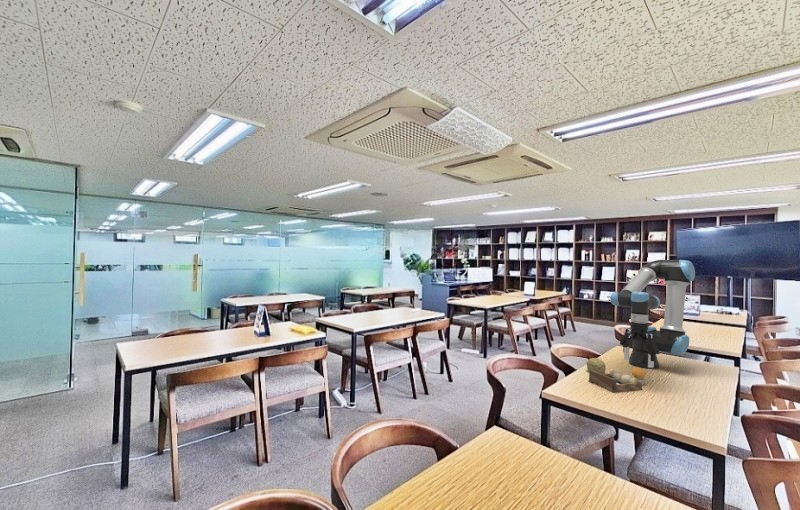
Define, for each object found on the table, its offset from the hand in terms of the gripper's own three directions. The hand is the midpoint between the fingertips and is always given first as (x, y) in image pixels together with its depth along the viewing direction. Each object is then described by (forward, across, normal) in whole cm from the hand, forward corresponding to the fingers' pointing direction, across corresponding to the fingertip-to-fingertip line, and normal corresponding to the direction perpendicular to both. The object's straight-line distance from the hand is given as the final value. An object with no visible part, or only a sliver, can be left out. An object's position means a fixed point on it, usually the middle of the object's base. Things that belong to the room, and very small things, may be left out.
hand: (638, 363), depth 179 cm
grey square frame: (+10, 0, +1) cm, 10 cm away
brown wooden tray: (+11, 0, -14) cm, 18 cm away
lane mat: (+11, 0, -14) cm, 18 cm away
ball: (+5, 0, 0) cm, 5 cm away
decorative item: (+11, -19, -7) cm, 23 cm away
